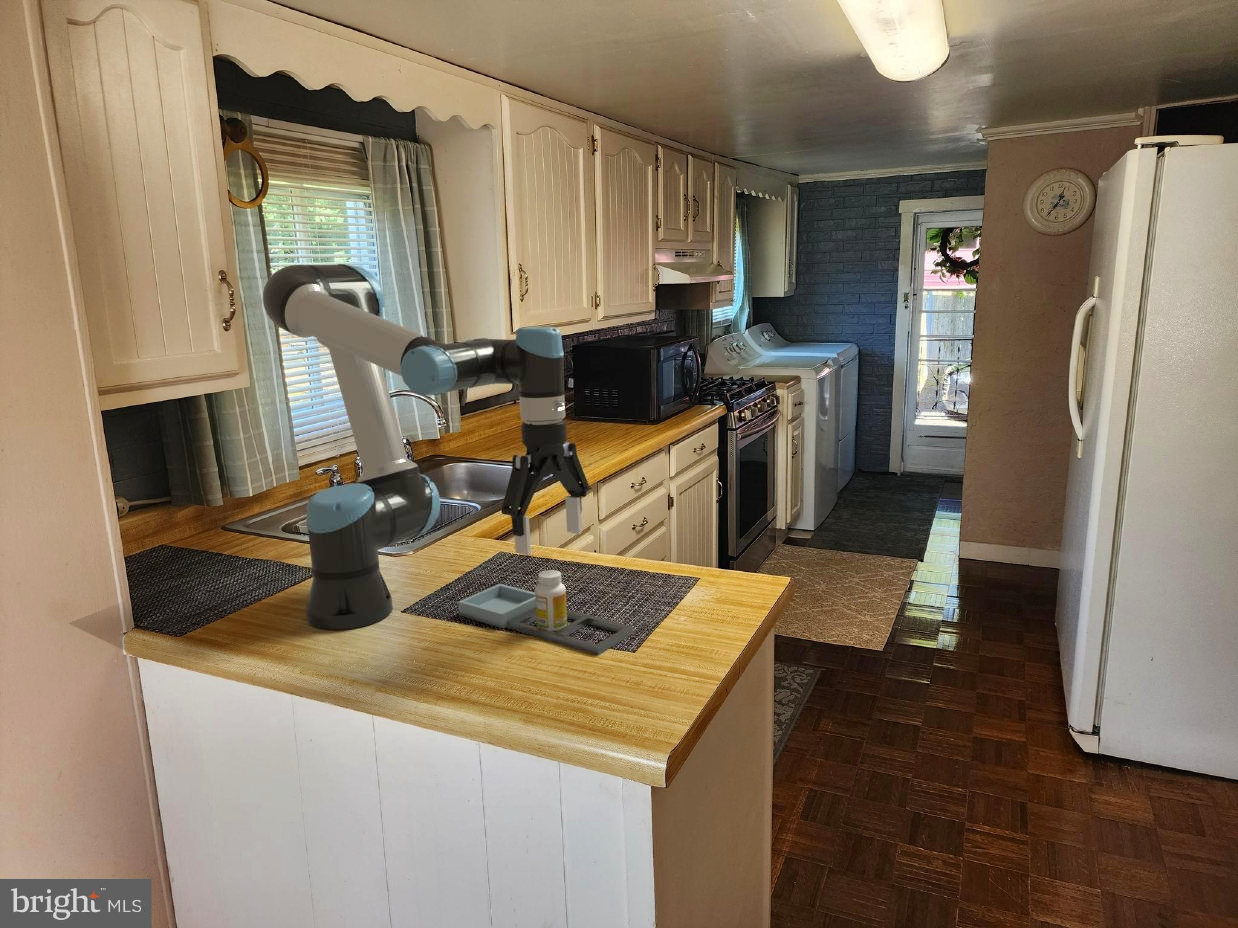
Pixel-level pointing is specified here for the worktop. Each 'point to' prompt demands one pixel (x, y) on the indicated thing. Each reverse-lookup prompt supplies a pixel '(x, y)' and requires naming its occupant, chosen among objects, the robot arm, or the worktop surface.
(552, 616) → the supplement bottle
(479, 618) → the tray
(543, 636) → the dark grey double frame
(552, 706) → the worktop surface
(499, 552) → the worktop surface
